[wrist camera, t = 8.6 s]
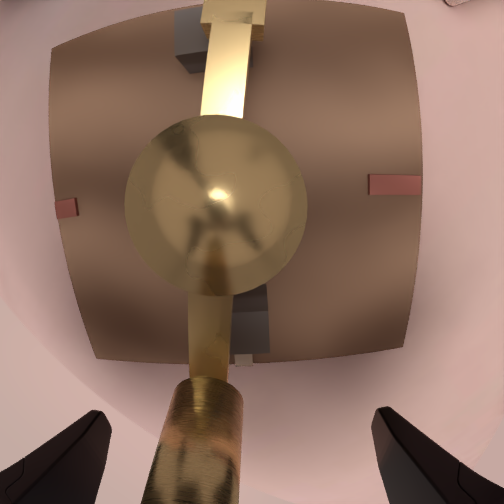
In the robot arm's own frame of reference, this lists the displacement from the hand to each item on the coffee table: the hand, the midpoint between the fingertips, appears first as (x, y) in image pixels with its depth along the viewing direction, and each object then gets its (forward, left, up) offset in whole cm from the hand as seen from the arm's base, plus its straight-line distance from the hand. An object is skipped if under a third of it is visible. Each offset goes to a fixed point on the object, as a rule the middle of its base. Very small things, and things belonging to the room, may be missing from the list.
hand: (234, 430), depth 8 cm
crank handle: (-6, 0, -2) cm, 6 cm away
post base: (-7, 0, -6) cm, 9 cm away
